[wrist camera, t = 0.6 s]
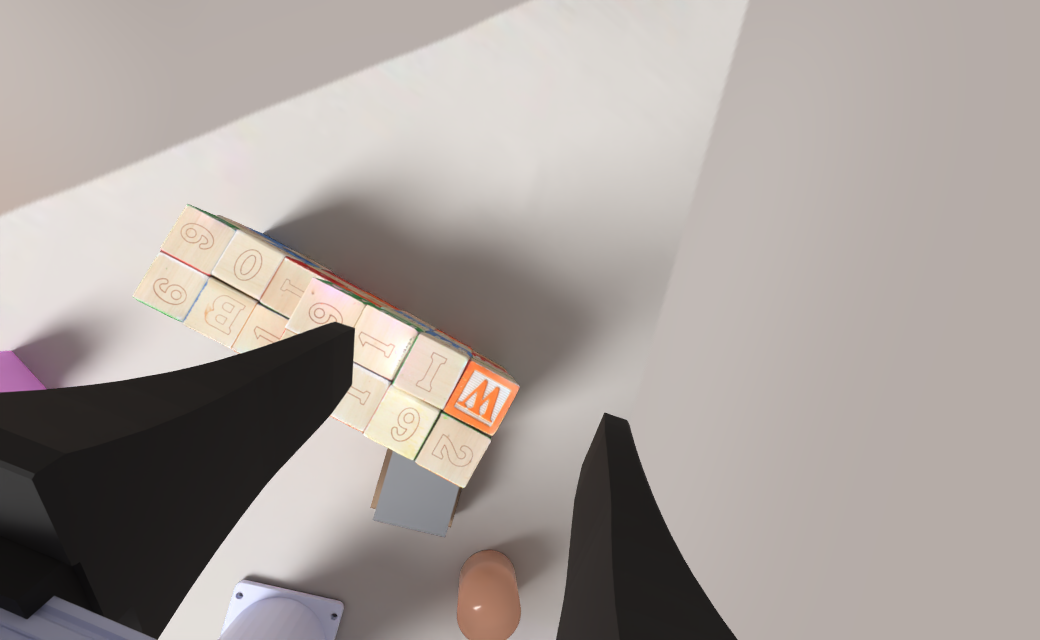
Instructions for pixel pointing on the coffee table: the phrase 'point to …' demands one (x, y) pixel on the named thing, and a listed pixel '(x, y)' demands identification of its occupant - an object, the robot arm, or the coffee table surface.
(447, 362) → the stack of blocks
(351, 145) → the coffee table surface
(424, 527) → the tower top
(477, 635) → the terracotta cylinder
